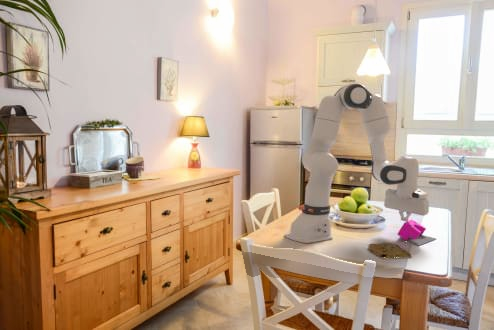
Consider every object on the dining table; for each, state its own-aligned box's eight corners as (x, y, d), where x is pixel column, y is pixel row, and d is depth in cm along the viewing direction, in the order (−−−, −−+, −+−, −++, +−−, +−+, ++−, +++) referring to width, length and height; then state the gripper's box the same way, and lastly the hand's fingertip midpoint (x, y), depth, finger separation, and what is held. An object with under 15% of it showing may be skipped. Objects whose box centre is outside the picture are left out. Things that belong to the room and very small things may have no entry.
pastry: (361, 254, 161) (361, 247, 160) (374, 243, 175) (374, 237, 175) (406, 264, 151) (407, 257, 151) (415, 252, 165) (416, 245, 165)
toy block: (397, 234, 179) (412, 244, 175) (404, 222, 177) (419, 232, 174) (404, 230, 192) (419, 239, 188) (411, 219, 190) (426, 228, 186)
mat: (418, 246, 172) (419, 245, 172) (401, 241, 178) (401, 240, 178) (436, 239, 182) (436, 238, 182) (419, 234, 188) (419, 234, 188)
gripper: (382, 188, 189) (380, 217, 191) (424, 196, 174) (422, 227, 175) (389, 187, 193) (387, 215, 195) (431, 194, 178) (429, 224, 179)
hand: (404, 220), depth 185 cm, fingers closed
